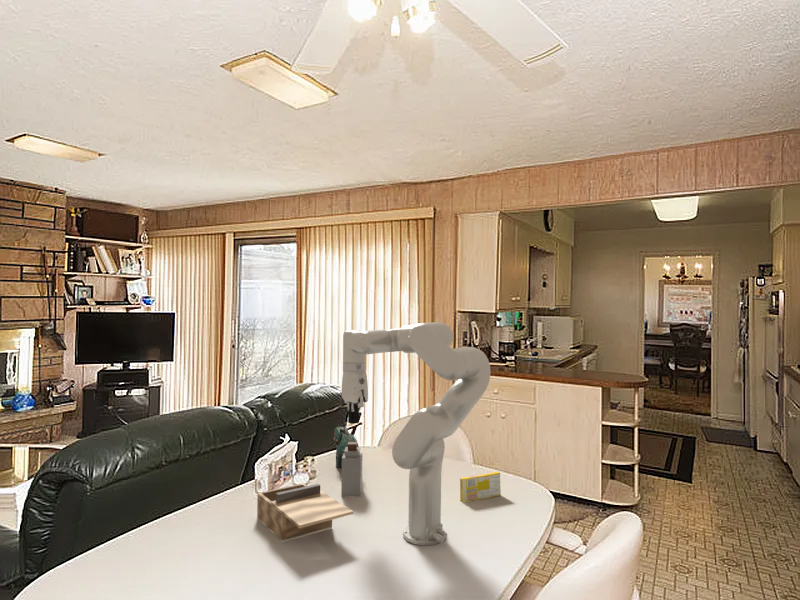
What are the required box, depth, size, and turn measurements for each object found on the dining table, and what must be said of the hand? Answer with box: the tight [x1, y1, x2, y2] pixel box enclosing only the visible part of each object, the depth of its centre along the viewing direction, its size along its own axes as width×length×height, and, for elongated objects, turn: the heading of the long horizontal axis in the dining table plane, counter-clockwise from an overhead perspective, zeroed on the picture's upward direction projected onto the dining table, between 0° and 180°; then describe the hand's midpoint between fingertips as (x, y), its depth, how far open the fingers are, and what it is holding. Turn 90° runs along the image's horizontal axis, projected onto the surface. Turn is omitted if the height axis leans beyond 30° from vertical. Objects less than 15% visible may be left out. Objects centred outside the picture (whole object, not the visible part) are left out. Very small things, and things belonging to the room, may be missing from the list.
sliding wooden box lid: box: [271, 483, 354, 528], centre depth 152 cm, size 20×17×3 cm
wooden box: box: [256, 482, 333, 543], centre depth 162 cm, size 20×16×8 cm
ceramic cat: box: [333, 421, 361, 470], centre depth 210 cm, size 20×6×20 cm, turn 27°
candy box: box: [459, 471, 502, 504], centre depth 184 cm, size 16×2×8 cm, turn 116°
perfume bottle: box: [340, 441, 363, 497], centre depth 188 cm, size 7×7×18 cm
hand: (353, 422), depth 172 cm, fingers closed
